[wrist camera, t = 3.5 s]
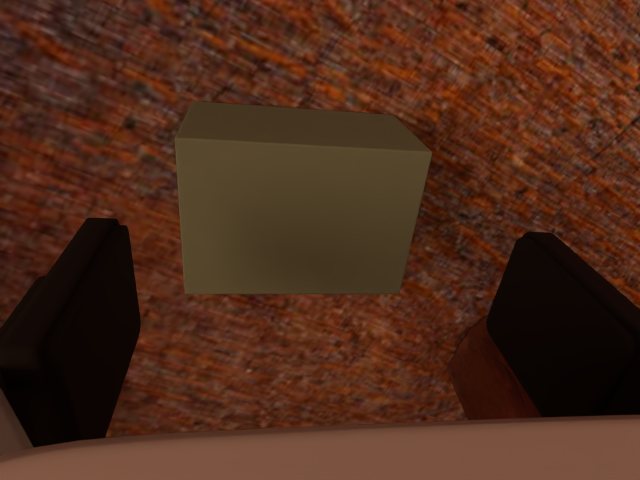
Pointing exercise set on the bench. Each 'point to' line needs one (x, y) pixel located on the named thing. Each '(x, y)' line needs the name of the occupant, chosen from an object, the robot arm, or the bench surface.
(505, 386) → the wooden figurine
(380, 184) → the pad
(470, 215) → the bench surface
